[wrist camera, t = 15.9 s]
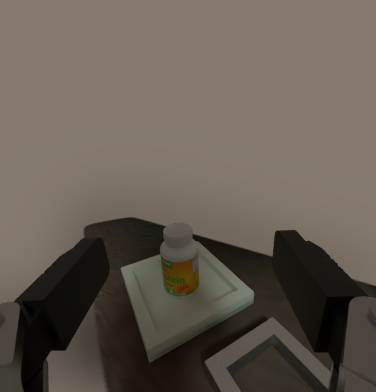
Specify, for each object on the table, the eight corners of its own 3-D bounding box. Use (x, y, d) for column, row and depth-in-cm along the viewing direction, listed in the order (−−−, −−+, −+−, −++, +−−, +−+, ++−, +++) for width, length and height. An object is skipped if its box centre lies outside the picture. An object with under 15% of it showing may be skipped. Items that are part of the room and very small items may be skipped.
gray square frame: (271, 327, 24) (272, 316, 24) (367, 425, 16) (372, 412, 16) (204, 373, 20) (204, 361, 20) (288, 532, 12) (292, 520, 12)
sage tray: (198, 249, 40) (197, 241, 40) (253, 303, 28) (253, 292, 27) (122, 277, 34) (120, 267, 33) (149, 363, 21) (147, 350, 21)
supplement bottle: (157, 294, 29) (150, 236, 26) (173, 270, 34) (168, 218, 31) (192, 304, 27) (188, 243, 24) (203, 277, 32) (202, 223, 29)
